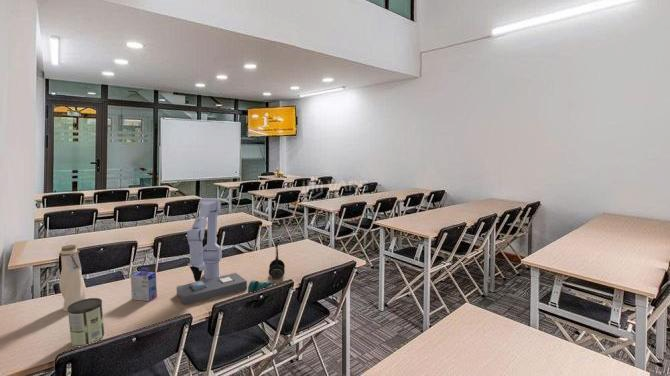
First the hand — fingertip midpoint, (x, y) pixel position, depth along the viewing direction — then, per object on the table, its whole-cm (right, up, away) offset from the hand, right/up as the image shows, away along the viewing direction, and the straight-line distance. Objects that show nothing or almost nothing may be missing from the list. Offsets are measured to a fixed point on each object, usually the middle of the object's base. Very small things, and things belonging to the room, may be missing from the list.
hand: (197, 280), depth 163 cm
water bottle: (-49, -9, -12) cm, 52 cm away
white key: (+11, -5, +9) cm, 15 cm away
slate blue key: (0, -5, +1) cm, 5 cm away
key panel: (+5, -7, +5) cm, 10 cm away
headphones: (+34, -5, +25) cm, 43 cm away
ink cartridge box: (-24, -8, -3) cm, 25 cm away
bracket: (+31, -8, +5) cm, 32 cm away
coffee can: (-26, -12, -37) cm, 47 cm away
